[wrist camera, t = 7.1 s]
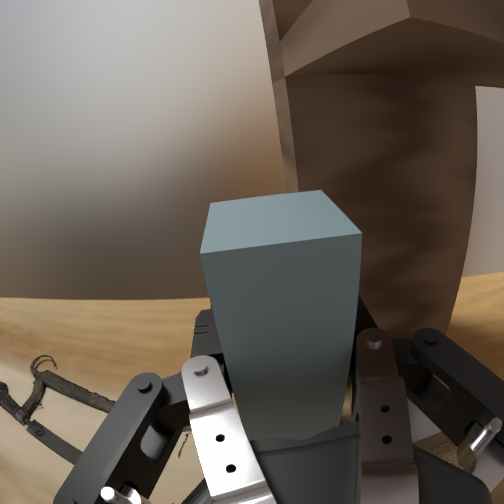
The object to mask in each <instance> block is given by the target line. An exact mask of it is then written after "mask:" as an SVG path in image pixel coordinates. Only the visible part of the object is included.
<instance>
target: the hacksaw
mask: <svg viewBox="0 0 504 504" xmlns="http://www.w3.org/2000/svg"><path fill="white" fill-rule="evenodd" d="M41 357H50V356H48V355H42V356H39V357H37V358H36V359H35V360H34V361H33V362H32V364H31V366H30V370H31V373H32V374H33V375H34V376H35V378H36V379H35V381H34V382H33V384H34V387H33V392H32V394H31V396H30V397H29V399H28V400H27V401H26V402H25V404H24V405H23V406H22V407H20V406H19V405H18V404H17V403H16V402H15V401H14V400H13V399H12V398H11V396H10V395H9V394H8V393H7V385H6V384H5V383H3V382H1V381H0V404H1V405H2V406H3V407H4V408H5V409H6V410H8V411H9V412H10V413H11V414H12V415H13V416H14V418H15V419H17V420H18V421H19V422H20V423H21V424H23V425H24V424H25V423H26V424H28V425H29V426H28V427H27V429H26V430H27V431H29V432H30V433H31V434H33V436H35V437H36V438H38V439H39V440H40V441H41V442H42V443H44V444H46V446H48V447H49V448H51V449H52V450H53V451H55V452H56V453H58V455H60V456H62V457H63V458H64V459H66V460H68V461H69V462H70V463H72V464H74V465H75V464H76V463H77V461H78V459H79V458H80V456H81V455H82V453H83V452H82V451H80V450H78V449H77V448H75V447H74V446H72V445H70V444H69V443H67V442H66V441H64V440H63V439H61V438H60V437H58V436H57V435H55V434H54V433H52V432H51V431H50V430H48V429H47V428H45V427H44V426H43V425H41V424H40V423H38V422H37V421H36V420H33V421H32V422H31V421H30V420H29V418H30V413H31V412H32V411H33V409H34V408H35V407H36V406H38V405H37V403H38V402H39V400H40V398H41V395H42V393H43V390H44V384H46V385H48V386H50V387H52V388H54V389H55V390H57V391H59V392H61V393H64V394H66V395H68V396H69V397H72V398H74V399H76V400H78V401H81V402H83V403H85V404H87V405H89V406H92V407H94V408H97V409H99V410H102V411H104V412H107V413H109V412H110V411H111V409H112V408H113V406H114V405H115V403H116V401H113V400H108V398H106V397H103V396H100V395H98V394H97V393H92V392H89V391H88V390H87V389H85V388H83V387H81V386H78V385H76V384H74V383H72V382H70V381H68V380H66V379H64V378H62V377H60V376H59V375H56V374H54V373H52V372H51V371H49V370H46V371H43V372H39V371H38V370H37V371H36V370H35V369H34V365H35V363H36V361H37V360H38V359H39V358H41ZM50 358H51V359H52V361H53V364H54V367H55V363H54V359H53V358H52V357H50ZM39 405H40V406H42V404H39ZM191 430H192V427H191V425H189V426H186V427H184V429H183V431H182V432H185V431H190V433H191ZM186 437H187V438H188V434H186ZM187 438H185V439H186V440H187ZM185 442H186V441H184V442H183V445H182V447H181V449H180V451H179V454H178V456H179V457H180V453H181V451H182V448H183V446H184V443H185ZM173 504H174V503H173Z"/></svg>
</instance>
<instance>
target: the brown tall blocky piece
mask: <svg viewBox="0 0 504 504" xmlns="http://www.w3.org/2000/svg"><path fill="white" fill-rule="evenodd" d="M259 5H260V10H261V16H262V22H263V28H264V33H265V40H266V46H267V52H268V58H269V64H270V71H271V78H272V85H273V92H274V99H275V106H276V113H277V121H278V128H279V136H280V144H281V152H282V160H283V169H284V177H285V187H286V194H288V193H297V192H306V191H316V190H321V191H322V192H323V193H324V194H325V195H326V196H327V197H328V198H329V199H330V200H331V201H332V202H333V203H334V204H335V205H336V206H337V207H338V208H339V209H340V210H341V211H342V212H343V213H344V214H345V215H346V216H347V217H348V218H349V219H350V221H351V222H352V223H353V224H354V225H355V226H356V227H357V228H358V229H359V230H360V231H361V232H362V247H361V265H360V280H359V292H358V294H359V295H360V297H361V299H362V301H363V302H364V304H365V306H366V308H367V309H368V311H369V313H370V314H371V316H372V318H373V320H374V321H375V323H376V325H377V327H378V328H379V329H383V330H385V331H386V332H388V333H389V334H390V335H391V337H392V338H395V339H413V335H414V334H415V332H416V331H418V330H420V329H423V328H433V329H436V330H438V331H440V332H441V333H442V334H444V335H446V332H447V329H448V325H449V322H450V319H451V315H452V312H453V308H454V305H455V301H456V297H457V293H458V289H459V285H460V281H461V276H462V271H463V267H464V262H465V257H466V252H467V246H468V240H469V234H470V228H471V221H472V212H473V205H474V195H475V183H476V166H477V106H476V90H475V86H485V87H497V88H504V0H259Z"/></svg>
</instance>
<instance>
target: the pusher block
mask: <svg viewBox="0 0 504 504" xmlns="http://www.w3.org/2000/svg"><path fill="white" fill-rule="evenodd" d="M361 247H362V232H361V231H360V230H359V229H358V228H357V227H356V226H355V225H354V224H353V223H352V222H351V221H350V219H349V218H348V217H347V216H346V215H345V214H344V213H343V212H342V211H341V210H340V209H339V208H338V207H337V206H336V205H335V204H334V203H333V202H332V201H331V200H330V199H329V198H328V197H327V196H326V195H325V194H324V193H323V192H322V191H321V190H316V191H306V192H297V193H288V194H279V195H270V196H262V197H254V198H246V199H238V200H230V201H223V202H216V203H211V205H210V209H209V214H208V219H207V223H206V227H205V232H204V237H203V242H202V246H201V251H200V255H201V261H202V266H203V270H204V275H205V279H206V284H207V288H208V292H209V297H210V302H211V306H212V310H213V314H214V319H215V323H216V327H217V331H218V335H219V339H220V343H221V347H222V351H223V355H224V359H225V363H226V367H227V371H228V375H229V378H230V382H231V386H232V389H233V393H234V397H235V400H236V404H237V408H238V411H239V415H240V418H241V422H242V425H243V429H244V431H245V434H246V436H247V438H248V441H251V440H260V439H268V438H281V439H300V440H304V439H308V438H310V437H313V436H315V435H317V434H320V433H322V432H324V431H326V430H329V429H331V428H333V427H336V426H339V424H340V419H341V414H342V409H343V404H344V398H345V393H346V387H347V381H348V375H349V368H350V361H351V354H352V347H353V339H354V331H355V322H356V313H357V303H358V292H359V280H360V265H361Z"/></svg>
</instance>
